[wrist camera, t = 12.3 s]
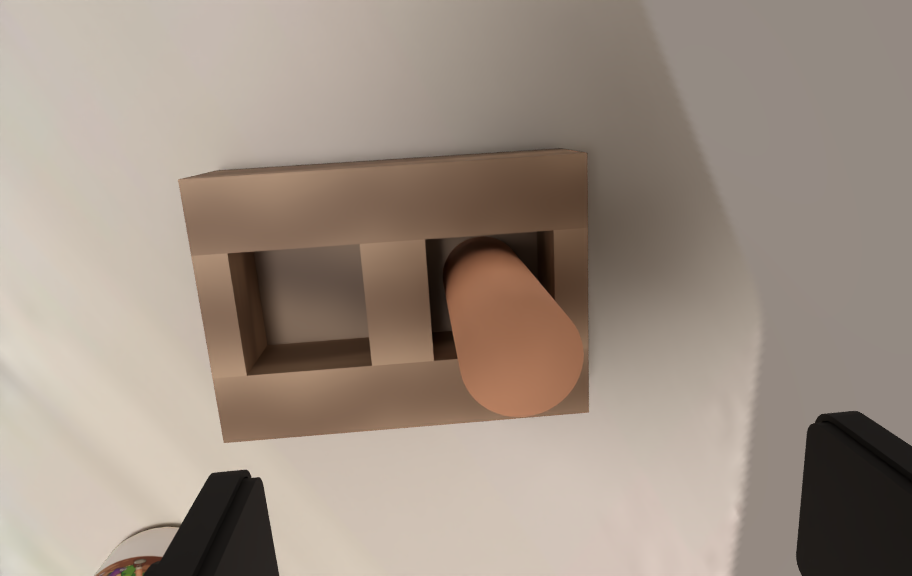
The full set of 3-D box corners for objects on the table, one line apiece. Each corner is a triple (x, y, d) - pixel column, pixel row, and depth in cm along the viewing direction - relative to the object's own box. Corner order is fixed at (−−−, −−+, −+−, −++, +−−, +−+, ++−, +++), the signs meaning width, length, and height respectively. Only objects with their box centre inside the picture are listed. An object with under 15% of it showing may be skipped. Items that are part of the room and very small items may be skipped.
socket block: (216, 170, 30) (178, 179, 26) (560, 148, 31) (587, 152, 26) (251, 396, 33) (224, 442, 29) (564, 371, 34) (588, 412, 29)
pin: (439, 240, 31) (454, 305, 19) (518, 233, 31) (581, 293, 19) (445, 317, 32) (464, 423, 20) (523, 309, 32) (585, 410, 20)
